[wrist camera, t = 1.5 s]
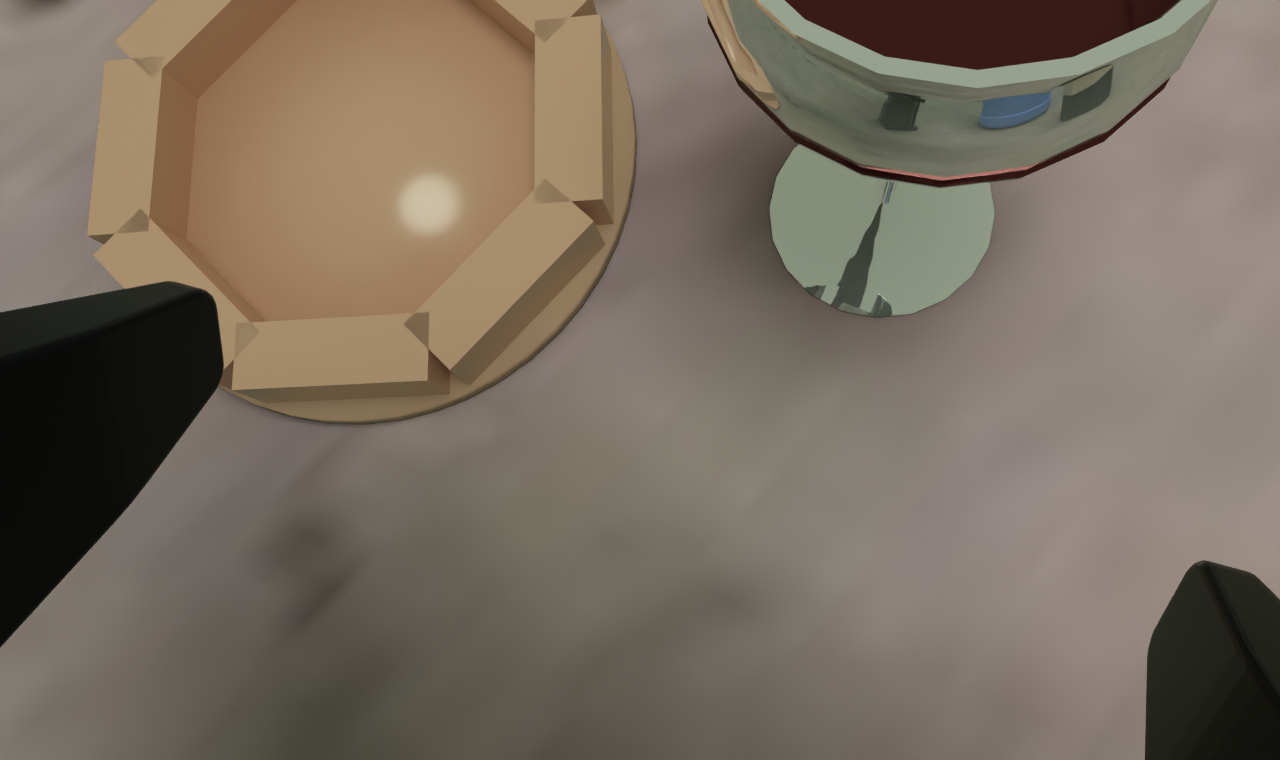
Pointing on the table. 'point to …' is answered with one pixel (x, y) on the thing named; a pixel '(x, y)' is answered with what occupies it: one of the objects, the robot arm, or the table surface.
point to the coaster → (367, 187)
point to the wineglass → (932, 121)
